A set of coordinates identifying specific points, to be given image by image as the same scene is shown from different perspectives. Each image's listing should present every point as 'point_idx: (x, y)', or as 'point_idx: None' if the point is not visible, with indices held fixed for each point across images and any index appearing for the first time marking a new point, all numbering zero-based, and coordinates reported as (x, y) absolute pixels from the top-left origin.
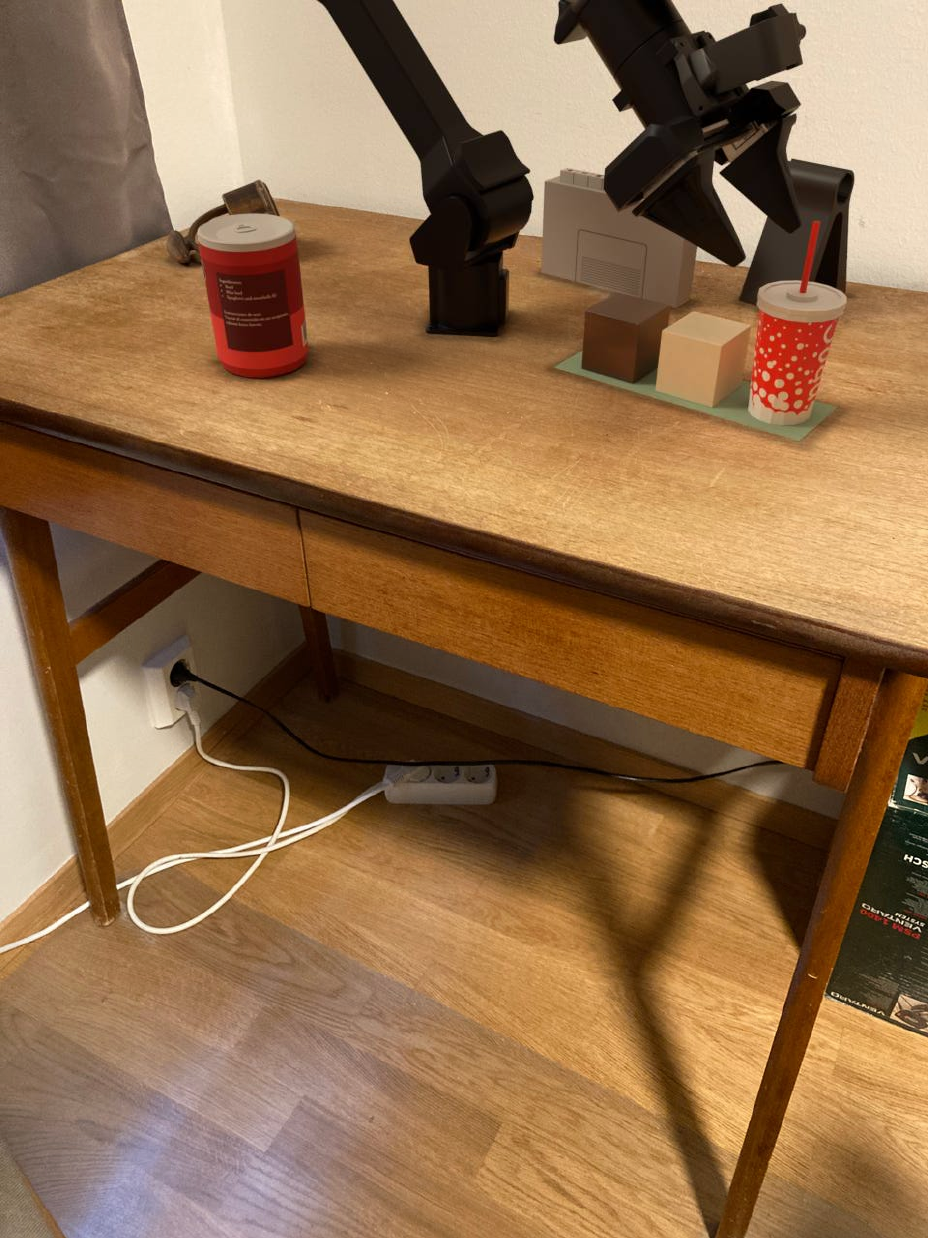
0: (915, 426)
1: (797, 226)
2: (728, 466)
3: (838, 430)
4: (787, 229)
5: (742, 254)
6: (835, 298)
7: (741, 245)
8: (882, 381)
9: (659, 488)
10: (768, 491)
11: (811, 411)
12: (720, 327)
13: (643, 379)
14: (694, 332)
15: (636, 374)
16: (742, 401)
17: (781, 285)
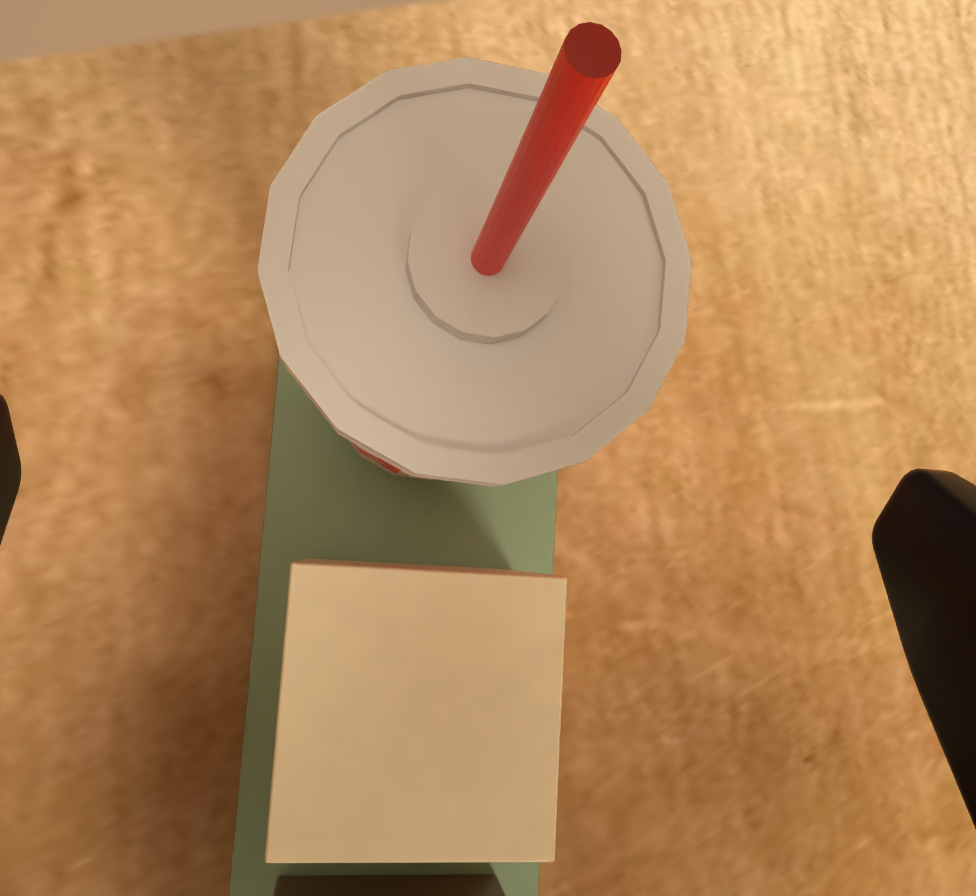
0: (268, 32)
1: (8, 413)
2: (771, 401)
3: None
4: (7, 497)
5: (966, 480)
6: (417, 120)
7: (968, 508)
8: None
9: None
10: (822, 275)
11: None
12: (390, 666)
13: (439, 865)
14: (506, 732)
15: (487, 884)
16: (418, 508)
17: (378, 408)
